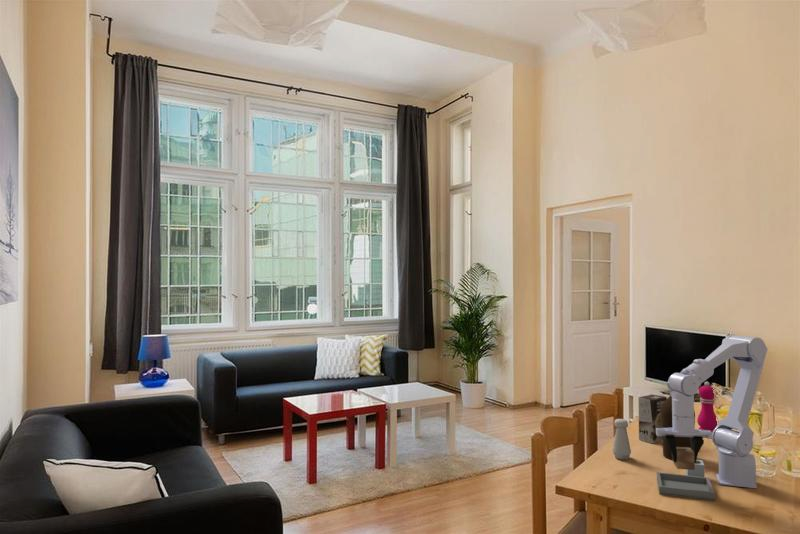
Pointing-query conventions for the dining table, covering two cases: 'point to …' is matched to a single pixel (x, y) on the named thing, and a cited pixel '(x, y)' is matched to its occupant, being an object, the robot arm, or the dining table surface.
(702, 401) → the pepper mill
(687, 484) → the tray
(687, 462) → the small bore block
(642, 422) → the coffee box
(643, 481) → the dining table surface
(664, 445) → the olive oil
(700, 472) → the wide bore block
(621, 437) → the salt shaker
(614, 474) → the dining table surface
